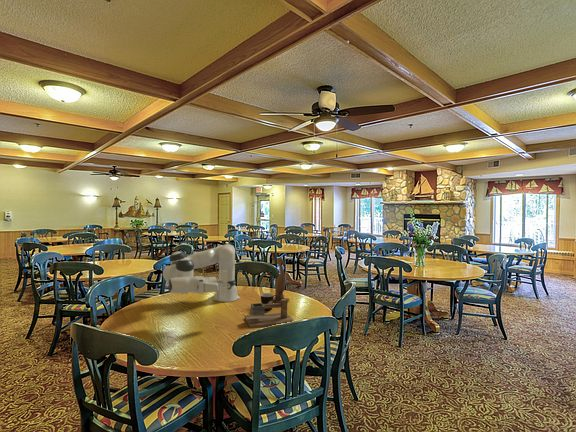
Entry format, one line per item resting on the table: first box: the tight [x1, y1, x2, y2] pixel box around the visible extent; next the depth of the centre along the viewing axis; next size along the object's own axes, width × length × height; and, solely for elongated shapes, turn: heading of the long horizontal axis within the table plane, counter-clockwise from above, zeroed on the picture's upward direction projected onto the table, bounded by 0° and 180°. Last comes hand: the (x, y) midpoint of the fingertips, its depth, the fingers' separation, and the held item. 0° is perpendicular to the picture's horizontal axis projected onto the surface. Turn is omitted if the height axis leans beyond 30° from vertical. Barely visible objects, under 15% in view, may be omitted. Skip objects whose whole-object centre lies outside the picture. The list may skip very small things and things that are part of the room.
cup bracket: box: [244, 299, 294, 329], centre depth 193 cm, size 16×26×12 cm, turn 107°
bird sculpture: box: [273, 257, 290, 303], centre depth 231 cm, size 11×12×32 cm
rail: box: [220, 270, 228, 300], centre depth 184 cm, size 4×4×16 cm
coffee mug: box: [260, 292, 277, 312], centre depth 214 cm, size 12×9×10 cm
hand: (225, 283), depth 184 cm, fingers closed on rail, 4 cm apart
